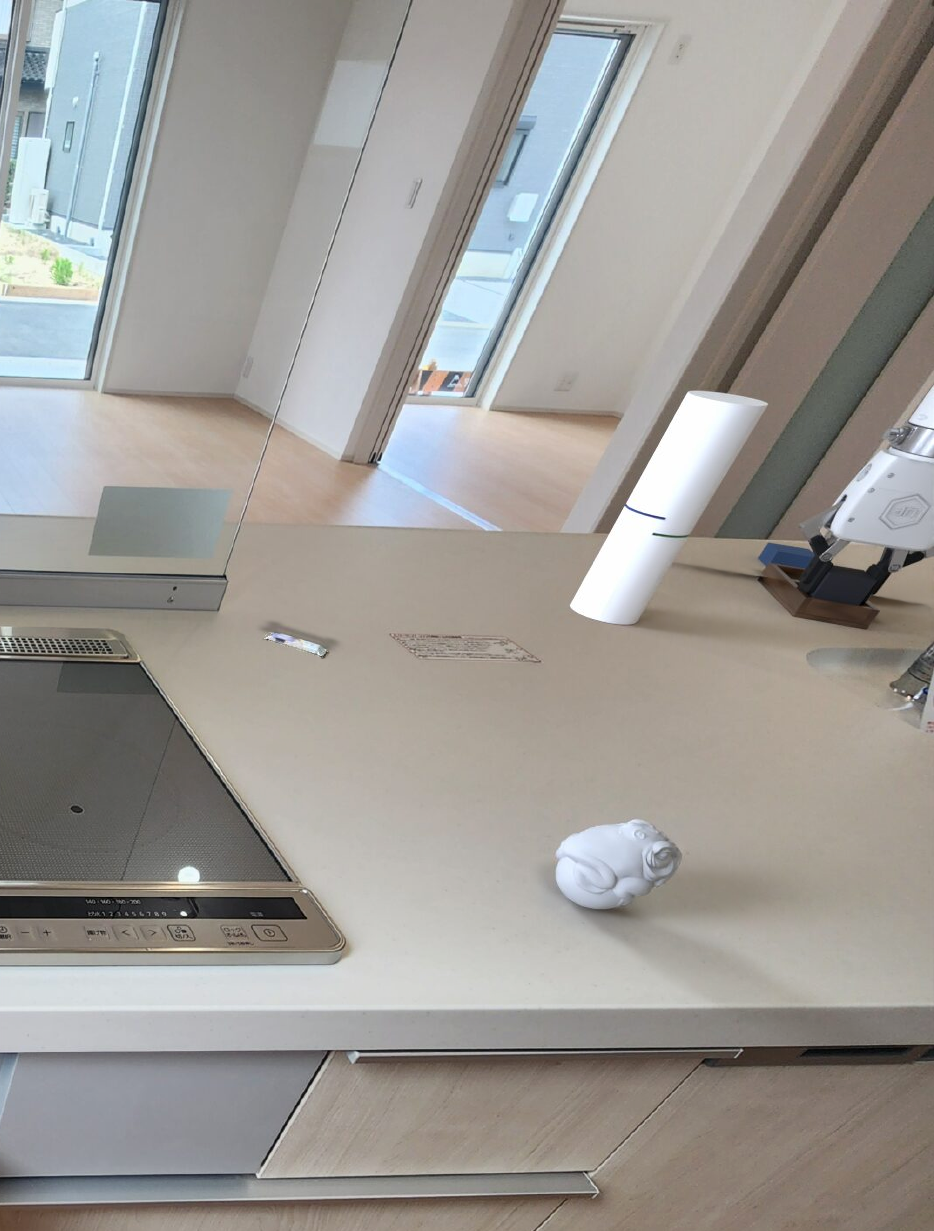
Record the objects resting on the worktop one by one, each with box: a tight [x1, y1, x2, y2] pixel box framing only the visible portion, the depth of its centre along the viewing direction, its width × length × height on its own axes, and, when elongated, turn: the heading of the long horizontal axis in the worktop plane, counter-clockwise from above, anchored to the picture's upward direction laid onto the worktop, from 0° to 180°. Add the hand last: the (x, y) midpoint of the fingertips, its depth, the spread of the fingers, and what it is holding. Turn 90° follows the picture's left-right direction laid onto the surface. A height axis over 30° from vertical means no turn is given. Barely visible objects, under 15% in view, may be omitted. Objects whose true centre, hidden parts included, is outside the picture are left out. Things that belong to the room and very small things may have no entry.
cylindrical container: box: [569, 390, 769, 626], centre depth 111 cm, size 7×7×25 cm
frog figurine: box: [555, 818, 683, 910], centre depth 69 cm, size 6×7×7 cm
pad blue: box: [757, 542, 815, 569], centre depth 134 cm, size 5×4×3 cm
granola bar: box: [262, 631, 327, 656], centre depth 106 cm, size 7×2×1 cm, turn 50°
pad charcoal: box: [806, 564, 877, 605], centre depth 121 cm, size 5×4×3 cm
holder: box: [757, 563, 881, 630], centre depth 125 cm, size 8×14×2 cm, turn 155°
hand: (832, 592), depth 122 cm, fingers closed on pad charcoal, 4 cm apart
